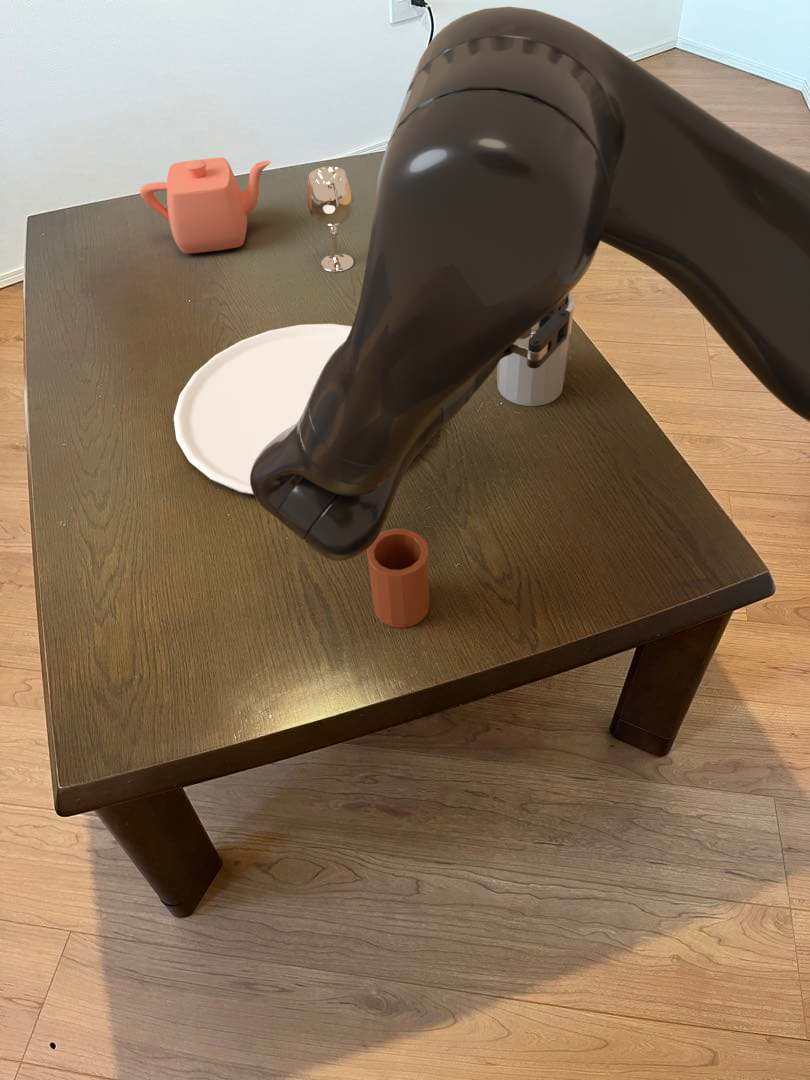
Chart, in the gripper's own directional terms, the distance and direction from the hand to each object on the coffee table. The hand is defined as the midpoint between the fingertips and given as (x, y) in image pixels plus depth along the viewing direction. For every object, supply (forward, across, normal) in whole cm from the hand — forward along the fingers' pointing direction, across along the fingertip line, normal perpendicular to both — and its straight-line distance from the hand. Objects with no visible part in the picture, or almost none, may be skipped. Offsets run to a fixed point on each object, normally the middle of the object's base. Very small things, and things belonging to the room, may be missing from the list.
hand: (521, 277), depth 79 cm
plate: (-11, +20, +16) cm, 28 cm away
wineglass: (+15, +34, +16) cm, 41 cm away
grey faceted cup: (+4, 0, +16) cm, 17 cm away
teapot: (+13, +53, +16) cm, 57 cm away
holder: (-29, -4, +16) cm, 33 cm away
